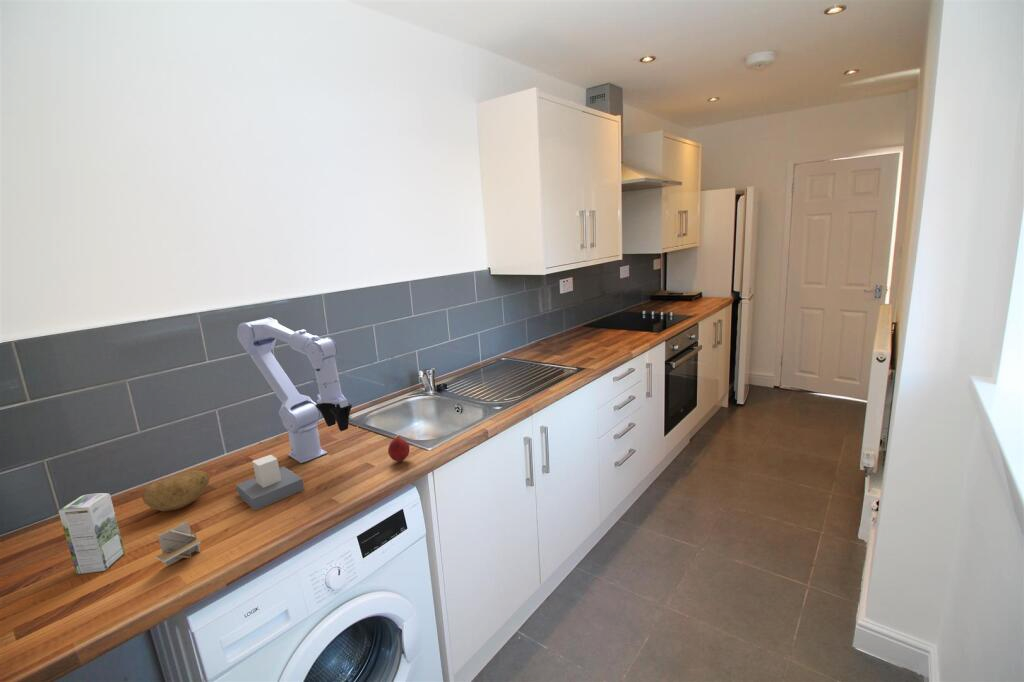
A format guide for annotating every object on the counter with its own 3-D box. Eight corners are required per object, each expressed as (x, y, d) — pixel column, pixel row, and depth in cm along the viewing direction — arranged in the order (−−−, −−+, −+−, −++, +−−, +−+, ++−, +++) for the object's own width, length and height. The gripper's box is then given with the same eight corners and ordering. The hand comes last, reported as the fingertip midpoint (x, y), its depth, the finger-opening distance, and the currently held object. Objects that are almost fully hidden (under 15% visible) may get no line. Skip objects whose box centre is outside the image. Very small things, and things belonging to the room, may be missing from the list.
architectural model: (204, 556, 99) (197, 524, 97) (167, 577, 93) (159, 543, 92) (196, 551, 101) (188, 520, 99) (159, 572, 95) (150, 539, 93)
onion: (405, 467, 131) (402, 440, 129) (386, 466, 132) (382, 439, 130) (414, 457, 136) (410, 431, 135) (395, 457, 137) (392, 431, 136)
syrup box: (97, 556, 101) (79, 494, 98) (127, 553, 101) (109, 491, 98) (76, 575, 95) (55, 510, 92) (107, 571, 96) (87, 506, 93)
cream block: (256, 482, 122) (252, 461, 121) (274, 475, 125) (270, 454, 124) (263, 487, 119) (258, 465, 118) (281, 480, 122) (277, 459, 121)
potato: (219, 499, 121) (212, 470, 120) (152, 525, 112) (144, 494, 110) (207, 487, 128) (201, 460, 126) (143, 511, 118) (135, 482, 116)
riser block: (238, 495, 123) (236, 484, 122) (285, 476, 131) (283, 466, 130) (254, 510, 114) (252, 499, 114) (304, 489, 123) (302, 478, 122)
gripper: (303, 383, 135) (313, 428, 138) (326, 388, 125) (336, 437, 128) (327, 376, 140) (336, 419, 143) (351, 381, 130) (360, 428, 132)
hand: (337, 427), depth 135 cm, fingers open, 7 cm apart
